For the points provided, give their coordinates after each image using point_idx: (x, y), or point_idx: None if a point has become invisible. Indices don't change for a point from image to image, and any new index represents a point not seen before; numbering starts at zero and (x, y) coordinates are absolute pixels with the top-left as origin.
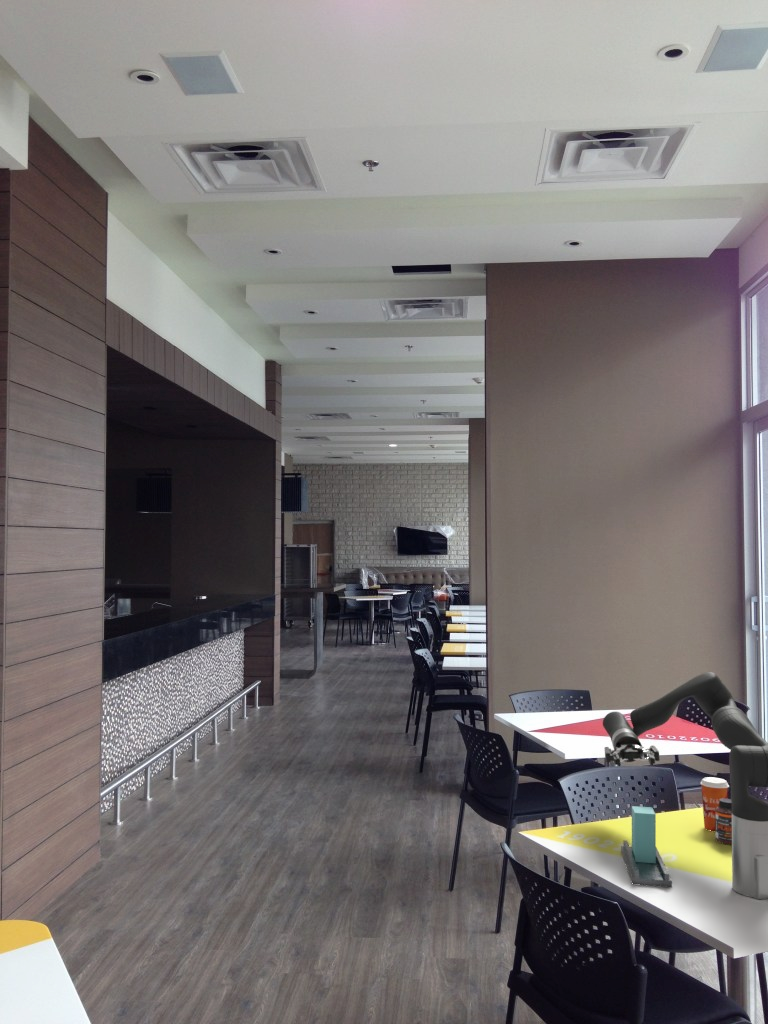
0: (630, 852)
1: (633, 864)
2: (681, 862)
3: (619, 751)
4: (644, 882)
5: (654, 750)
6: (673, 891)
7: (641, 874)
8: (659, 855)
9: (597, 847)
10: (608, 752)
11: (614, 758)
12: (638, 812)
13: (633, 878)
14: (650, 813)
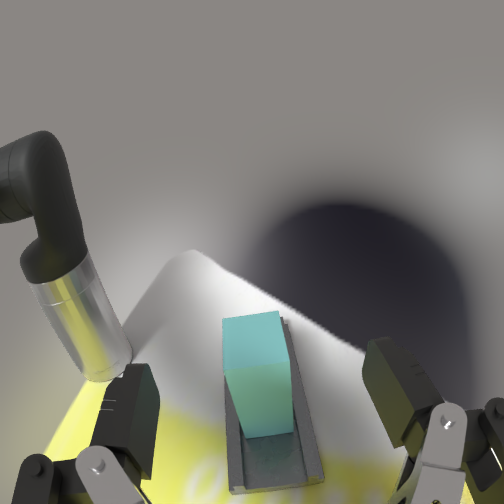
0: (295, 398)
1: (285, 341)
2: (180, 458)
3: (424, 464)
4: None
5: (41, 498)
6: None
7: None
8: (230, 402)
9: (384, 484)
10: (495, 407)
11: (415, 362)
12: (268, 316)
13: (285, 325)
14: (235, 319)
